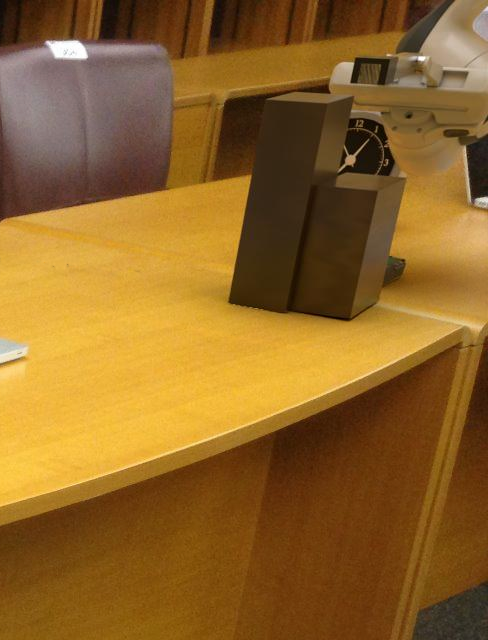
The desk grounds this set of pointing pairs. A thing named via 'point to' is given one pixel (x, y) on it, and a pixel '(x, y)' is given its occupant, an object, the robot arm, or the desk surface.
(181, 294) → the desk surface
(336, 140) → the stepped stand
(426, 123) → the robot arm
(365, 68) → the handle bar
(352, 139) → the alarm clock
